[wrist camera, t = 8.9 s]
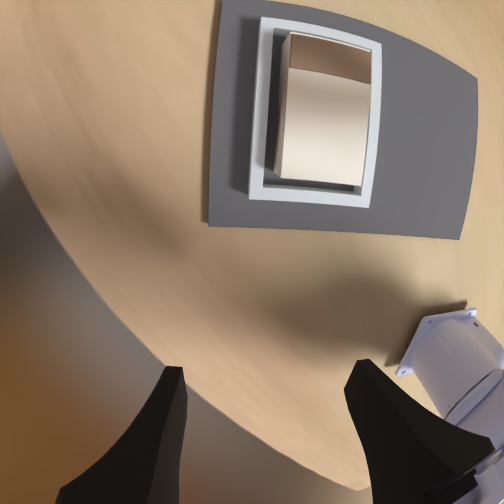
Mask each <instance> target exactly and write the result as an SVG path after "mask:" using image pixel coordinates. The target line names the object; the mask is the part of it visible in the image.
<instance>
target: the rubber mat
mask: <svg viewBox="0 0 504 504" xmlns="http://www.w3.org/2000/svg"><path fill="white" fill-rule="evenodd" d="M261 17H268V18H276V19H284V20H291V21H297V22H303V23H308V24H313V25H318V26H322V27H327V28H331V29H335V30H339V31H342V32H346V33H350V34H353V35H356V36H360V37H363V38H366V39H369V40H372V41H375V42H378V43H380V44H381V47H382V85H381V109H380V124H379V136H378V146H377V155H376V163H375V171H374V179H373V185H372V192H371V198H370V204H369V208H363V207H353V206H343V205H331V204H319V203H306V202H291V201H274V200H253V199H249V197H248V182H249V166H250V150H251V134H252V119H253V104H254V89H255V75H256V60H257V47H258V33H259V23H260V20H261ZM286 38H287V37H285V36H277V35H273V43H272V59H271V74H270V89H269V104H268V119H267V134H266V148H265V162H264V176H263V184H271V185H286V186H299V187H311V188H322V189H332V190H342V191H350V192H353V188H354V185H348V184H340V183H331V182H322V181H311V180H300V179H288V178H280V177H279V176H278V175H277V174H275V173H274V172H273V167H274V154H275V141H276V126H277V112H278V97H279V81H280V64H281V47H282V44H283V43H284V41H285V39H286ZM477 129H478V83H477V78H476V77H474V76H473V75H471V74H470V73H468V72H467V71H465V70H464V69H462V68H461V67H459V66H457V65H456V64H454V63H453V62H451V61H449V60H448V59H446V58H444V57H442V56H441V55H439V54H437V53H435V52H433V51H431V50H429V49H427V48H426V47H424V46H422V45H420V44H417V43H415V42H413V41H411V40H409V39H407V38H405V37H402V36H400V35H398V34H395V33H393V32H390V31H388V30H385V29H383V28H380V27H378V26H375V25H372V24H369V23H366V22H363V21H360V20H357V19H354V18H351V17H347V16H344V15H340V14H336V13H333V12H329V11H325V10H320V9H316V8H311V7H306V6H301V5H295V4H289V3H282V2H274V1H266V0H223V2H222V10H221V18H220V27H219V36H218V46H217V56H216V67H215V79H214V93H213V107H212V124H211V144H210V170H209V211H208V226H211V227H247V228H275V229H299V230H320V231H339V232H356V233H373V234H388V235H402V236H415V237H428V238H440V239H452V240H459V239H460V235H461V231H462V227H463V223H464V219H465V215H466V210H467V206H468V201H469V196H470V190H471V184H472V178H473V171H474V164H475V155H476V144H477Z"/></svg>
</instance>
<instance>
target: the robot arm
mask: <svg viewBox="0 0 504 504" xmlns="http://www.w3.org/2000/svg"><path fill="white" fill-rule="evenodd" d="M476 313H477V309H476V308H470V309H465V310H460V311H454V312H449V313H443V314H436V315H430V316H425V317H423V318H422V320H421V322H420V324H419V326H418V328H417V331H416V333H415V335H414V337H413V339H412V341H411V343H410V345H409V347H408V349H407V351H406V353H405V355H404V357H403V359H402V361H401V363H400V364H399V366H398V368H397V370H396V372H395V374H396V376H400V375H404V374H408V373H412V372H415V374H416V376H417V377H418V379H419V380H420V382H421V383H422V385H423V387H424V388H425V390H426V392H427V393H428V395H429V396H430V398H431V400H432V401H433V403H434V405H435V407H436V408H437V410H438V412H439V413H440V415H441V417H442V419H441V418H440V417H438V416H436V415H435V414H433V413H432V412H430V411H429V410H427V409H426V408H424V407H423V406H422V405H420V404H419V403H418V402H417V401H415V400H414V399H413V398H411V397H410V396H409V395H408V394H407V393H406V392H404V391H403V390H402V389H401V388H400V387H399V386H398V385H397V384H395V383H394V382H393V381H392V380H391V379H390V378H389V377H388V376H387V375H386V374H385V373H384V372H383V371H382V370H381V369H379V368H378V367H377V366H376V365H375V364H374V363H373V362H372V361H371V360H370V359H364V360H357V361H356V364H355V366H354V368H353V370H352V373H351V375H350V377H349V379H348V381H347V383H346V386H345V388H344V393H345V397H346V402H347V406H348V409H349V412H350V415H351V417H352V420H353V423H354V425H355V428H356V430H357V433H358V436H359V438H360V441H361V443H362V446H363V449H364V452H365V456H366V460H367V465H368V469H369V475H370V480H371V487H372V496H373V504H500V503H501V502H502V501H503V500H504V349H503V347H502V345H501V344H500V343H499V342H498V341H497V340H496V339H495V338H494V336H493V335H492V334H491V333H490V332H489V331H488V330H487V329H486V328H485V327H484V326H483V325H482V324H481V323H480V322H479V321H478V320H477V319H476V318H475V315H476ZM187 398H188V397H187V391H186V386H185V380H184V374H183V368H182V367H175V366H166V367H165V369H164V371H163V373H162V375H161V377H160V379H159V381H158V382H157V384H156V386H155V388H154V390H153V391H152V393H151V395H150V396H149V398H148V400H147V401H146V403H145V405H144V406H143V408H142V409H141V411H140V412H139V414H138V415H137V416H136V418H135V419H134V421H133V422H132V423H131V425H130V426H129V427H128V429H127V430H126V431H125V433H124V434H123V435H122V436H121V437H120V438H119V440H118V441H117V442H116V443H115V444H114V445H113V446H112V447H111V448H110V449H109V450H108V451H107V452H106V453H105V454H104V455H103V457H101V458H100V459H99V460H98V461H97V462H96V463H94V464H93V465H92V466H91V467H90V468H88V469H87V470H86V471H85V472H84V473H82V474H81V475H80V476H78V477H77V478H75V479H74V480H72V481H71V482H69V483H68V484H67V485H65V486H63V487H62V488H60V490H59V494H58V495H57V498H56V503H55V504H179V466H180V457H181V451H182V444H183V437H184V431H185V425H186V418H187Z"/></svg>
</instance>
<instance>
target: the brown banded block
mask: <svg viewBox="0 0 504 504" xmlns="http://www.w3.org/2000/svg"><path fill="white" fill-rule="evenodd" d="M370 84H371V52H370V50H367V49H364V48H360V47H357V46H354V45H350V44H347V43H343V42H339V41H335V40H331V39H327V38H322V37H317V36H312V35H307V34H302V33H296V32H290V33H289V35H288V36H287V38H286V39H285V41H284V43H283V44H282V47H281V64H280V81H279V97H278V112H277V126H276V141H275V154H274V167H273V172H274V173H275V174H277V175H278V176H279V177H280V178H288V179H300V180H311V181H322V182H331V183H340V184H348V185H356V186H361V183H362V175H363V168H364V159H365V150H366V140H367V129H368V115H369V98H370Z"/></svg>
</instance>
